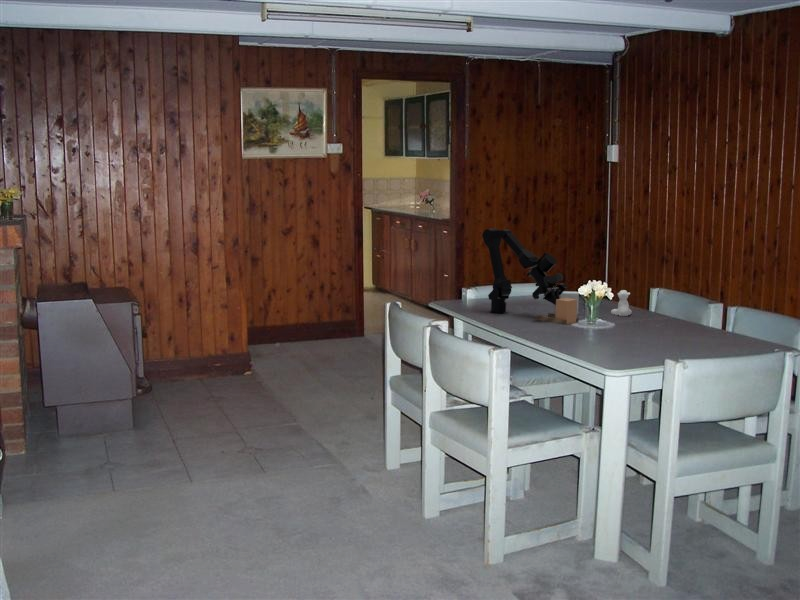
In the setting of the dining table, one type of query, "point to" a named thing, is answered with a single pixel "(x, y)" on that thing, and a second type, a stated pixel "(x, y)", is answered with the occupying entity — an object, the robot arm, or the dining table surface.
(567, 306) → the block
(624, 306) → the white creature statuette
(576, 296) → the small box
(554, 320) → the chute
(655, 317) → the dining table surface
